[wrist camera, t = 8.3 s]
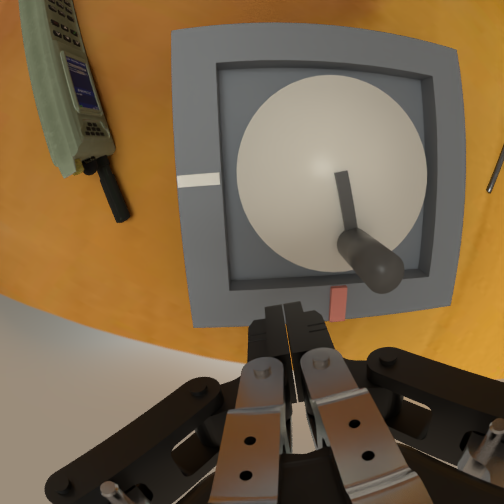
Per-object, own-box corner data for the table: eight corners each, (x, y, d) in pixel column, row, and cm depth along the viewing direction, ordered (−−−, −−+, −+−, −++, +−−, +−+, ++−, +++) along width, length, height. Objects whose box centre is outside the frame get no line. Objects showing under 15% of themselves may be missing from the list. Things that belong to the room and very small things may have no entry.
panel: (432, 59, 21) (459, 48, 17) (429, 288, 28) (452, 307, 23) (182, 47, 21) (170, 28, 17) (200, 304, 28) (192, 330, 23)
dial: (216, 101, 20) (200, 74, 13) (395, 72, 20) (449, 48, 12) (262, 282, 25) (268, 336, 17) (424, 241, 24) (479, 274, 16)
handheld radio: (75, -13, 18) (147, 210, 25) (49, 5, 19) (116, 224, 26) (40, -37, 12) (113, 230, 19) (11, -14, 12) (77, 247, 19)
